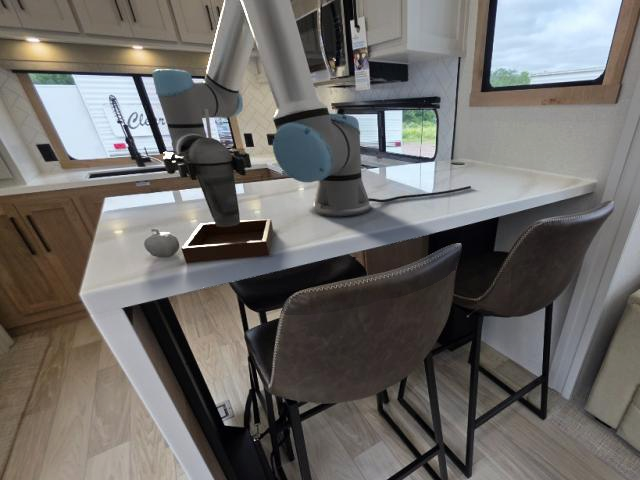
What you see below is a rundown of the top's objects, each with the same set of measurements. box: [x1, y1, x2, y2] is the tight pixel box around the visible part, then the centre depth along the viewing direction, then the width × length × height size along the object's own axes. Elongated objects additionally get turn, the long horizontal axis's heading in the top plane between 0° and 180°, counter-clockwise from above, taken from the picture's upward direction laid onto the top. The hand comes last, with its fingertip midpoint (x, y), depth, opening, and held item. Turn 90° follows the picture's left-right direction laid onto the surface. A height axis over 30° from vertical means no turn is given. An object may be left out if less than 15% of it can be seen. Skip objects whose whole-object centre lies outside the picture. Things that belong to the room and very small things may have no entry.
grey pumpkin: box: [143, 228, 180, 259], centre depth 63 cm, size 6×5×5 cm
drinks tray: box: [180, 218, 274, 264], centre depth 68 cm, size 15×15×3 cm
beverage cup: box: [189, 109, 241, 227], centre depth 61 cm, size 7×7×20 cm
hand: (218, 169), depth 57 cm, fingers closed on beverage cup, 7 cm apart
